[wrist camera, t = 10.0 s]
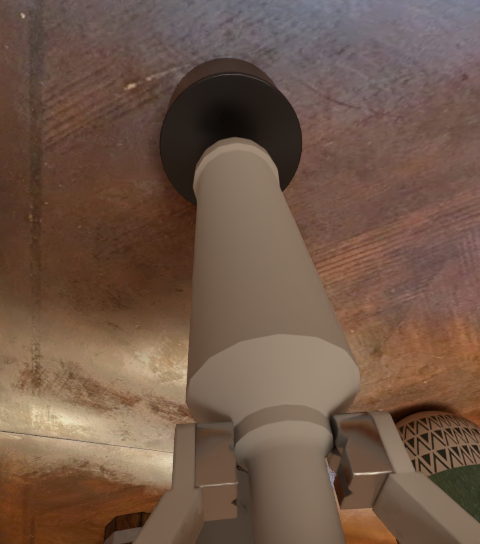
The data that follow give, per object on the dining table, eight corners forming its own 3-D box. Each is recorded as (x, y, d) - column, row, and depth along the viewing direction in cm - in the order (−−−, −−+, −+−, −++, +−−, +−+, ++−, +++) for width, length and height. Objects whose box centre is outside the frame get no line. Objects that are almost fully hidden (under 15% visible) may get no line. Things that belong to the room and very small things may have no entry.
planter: (347, 457, 69) (395, 614, 52) (374, 387, 58) (446, 559, 41) (452, 451, 71) (532, 601, 54) (498, 382, 60) (618, 545, 42)
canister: (141, 100, 32) (129, 125, 27) (251, 28, 30) (262, 39, 24) (207, 198, 38) (208, 235, 32) (304, 144, 35) (323, 175, 30)
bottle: (182, 196, 25) (117, 999, 5) (210, 119, 23) (286, 1157, 3) (255, 220, 27) (414, 918, 7) (289, 151, 24) (715, 968, 4)
